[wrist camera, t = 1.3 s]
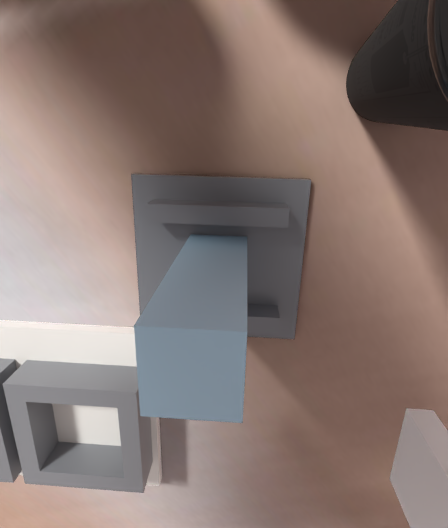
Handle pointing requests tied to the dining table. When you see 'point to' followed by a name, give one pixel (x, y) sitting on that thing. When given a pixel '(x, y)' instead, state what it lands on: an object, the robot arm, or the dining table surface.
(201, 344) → the plug
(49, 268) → the dining table surface
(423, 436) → the robot arm
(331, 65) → the dining table surface
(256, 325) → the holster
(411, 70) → the drinking cup
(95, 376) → the port panel
